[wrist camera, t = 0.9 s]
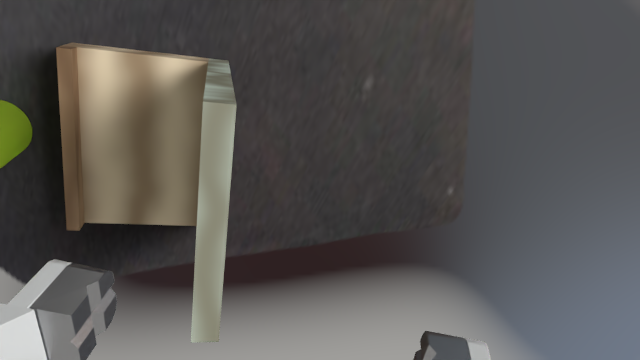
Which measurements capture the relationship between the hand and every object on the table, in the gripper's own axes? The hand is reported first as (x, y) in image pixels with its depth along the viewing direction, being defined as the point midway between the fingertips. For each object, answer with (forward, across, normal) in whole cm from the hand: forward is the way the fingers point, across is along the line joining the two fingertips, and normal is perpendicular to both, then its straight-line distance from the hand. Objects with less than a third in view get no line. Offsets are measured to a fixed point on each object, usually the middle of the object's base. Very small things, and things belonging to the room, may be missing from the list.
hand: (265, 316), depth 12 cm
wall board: (+34, +19, +15) cm, 42 cm away
